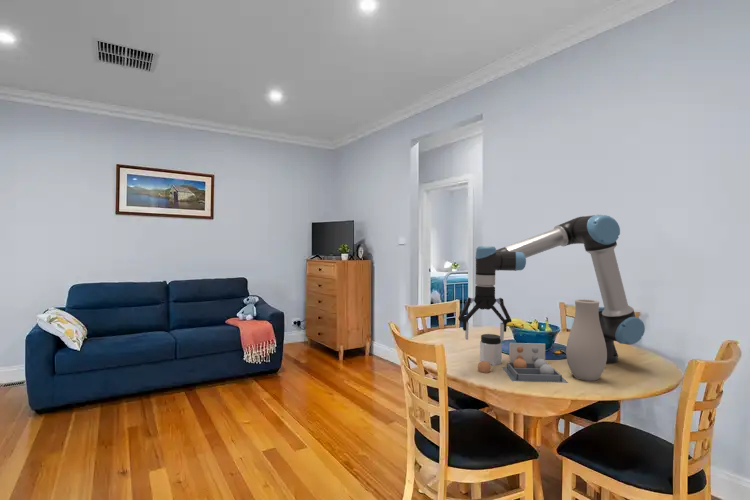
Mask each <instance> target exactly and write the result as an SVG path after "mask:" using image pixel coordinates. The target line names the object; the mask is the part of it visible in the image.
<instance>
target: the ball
mask: <svg viewBox="0 0 750 500" xmlns="http://www.w3.org/2000/svg"><path fill="white" fill-rule="evenodd" d="M491 366H492V365H490V364H489V362H487V361H479V363H478V364H477V369H478V371H479V372H480V373H483V374H484V373H485V374H487V373H490V372H491V370H492V367H491Z"/></svg>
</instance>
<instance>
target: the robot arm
mask: <svg viewBox="0 0 750 500" xmlns="http://www.w3.org/2000/svg"><path fill="white" fill-rule="evenodd" d="M620 235H621V227H620V225H619V223H618V221H617V220H616V219H615V218H614V217H611V216H610V215H606V214H594V215H586V216H583V215H582V216H578V217H575V218H572V219H570V220H568V221H565V222H563V223H561V224H560V223H559V224H558V225H555V226H553V229H551V230H548V231H545V232H543V233H540V234H537V235H534V236H531V237H529V238H526V239H522V240H520V241H516V242H514V243H513V244H509V245H507V246H504V247H501V248H498V249H497V248H496V247H495V246H483V245H481V246H477V248H476V250H475V251H476V252H475V286H474V287H475V288H474V289H475V290H474V297H469V296H467V298H466V303H465V305H464V306H463V308H462V310H461V312H460V314H459V316H458V321H459V322H462V330H463V332H465V336H464V338H465V340H467V341H468V340H469V322H468V321H469V320H470V319H471V318H472V317H473V316H474V314H475V313H476V312H477V311H478V310H487V311H489V310H490V309H491V310H492V311H493V313H495V314H496V316H497V317H498V318H499V319H500V321H501V322H500V324H499V327H500V328H499V329H500V330H499V332H500V334H499V336H500V339H501V342H502V341H503V342H504V340H505V339H504V338H505V336H504V335H505V333H506V332H507V329H508V327H507V325H508V323H512V322H513V321H512V318H511V316H510V314H509V312H508V310H507V308H506V306H505V303H504V302H505V301H504V299H503V298H502V297H499V298H496V287H495V285H496V272H497V271H513V272H514V271H515V272H516V271H522V270H524V269H525V268H526V265H527V258H529V257H532V256H533V257H534V256H535V255H538V254H541V253H543V252H546V251H549V250H551V249H554V248H557V247H559V246H561V247H566V246H570V245H575V244H577V245H578V244H579V245H580V244H582V245H583V246H584V250H585V252H586V253H588V254H590V257H591V261H592V265H593V268H594V272H595V276H596V279H597V284H598V287H599V292H600V295H601V299H602V303H603V306H599V321H600V325H601V329H602V332H603V336H604V339H605V343H606V348H607V361H606V364H613V363H617V362H618V361H619V354H618V351H617V349H616V345H615V342H617V343H619V344H622V345H623V344H625V345H630V346H631V345H634V344H635V345H636V344H637V343H638V342H640V340H641V339H642V337H643V336H644V335H645V331H646V330H645V329H646V328H645V323H644V321H643V320H642V319H640V317H636V314H635V311H634V307H632V306H631V305H629V304H628V299H627V297H626V296H627V295H626V291H625V287H624V284H623V280H622V276H621V273H620V269H619V268H620V267H619V263H618V260H617V257H616V252H615V249H616V247H617V246H618V244H617V241H618V239H619V236H620ZM473 302H474V303H475V305H474V306H473V308H472V309H471V310H470V311H469V312H468V313H467V311H468V309H469V307H470V306H471V304H472V303H473ZM496 303H497V304H498V305H499V307H500V308H501V310H502V312H503V315H504V316H503V315H502V314H501V313H500V312H499V311H498V309H497V307H496V306H495V304H496ZM466 313H467V314H466ZM504 317H505V318H504ZM614 341H615V342H614Z"/></svg>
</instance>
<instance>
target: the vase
mask: <svg viewBox="0 0 750 500" xmlns="http://www.w3.org/2000/svg"><path fill="white" fill-rule="evenodd" d="M574 305H575V311H574V312H575V313H574V317H573V323H572V326H571V329H570V331H569V335H568V338H567V341H566V346H565V348H566V349H565V355H566V361H567V365H568V367H569V370H570V372H571V374H572V375H573V377H575V378H576V379H579V380H581V381H587V382H588V381H589V382H591V381H592V382H593V381H594V382H595V381H598V380H599V379H600V378H601V376H602V375H603V373H604V370H605V368H606V366H607V363H606V361H607V348H606V343H605V339H604V336H603V332H602V329H601V325H600V321H599V307H600V301H598V300H594V299H585V298H584V299H575V300H574Z"/></svg>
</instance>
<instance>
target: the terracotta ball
mask: <svg viewBox="0 0 750 500" xmlns="http://www.w3.org/2000/svg"><path fill="white" fill-rule="evenodd" d="M513 366H514V368H526V367H527V364H526V362H525V360H523V359H521V358H518V359H516V360H515V361H514V363H513Z"/></svg>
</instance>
